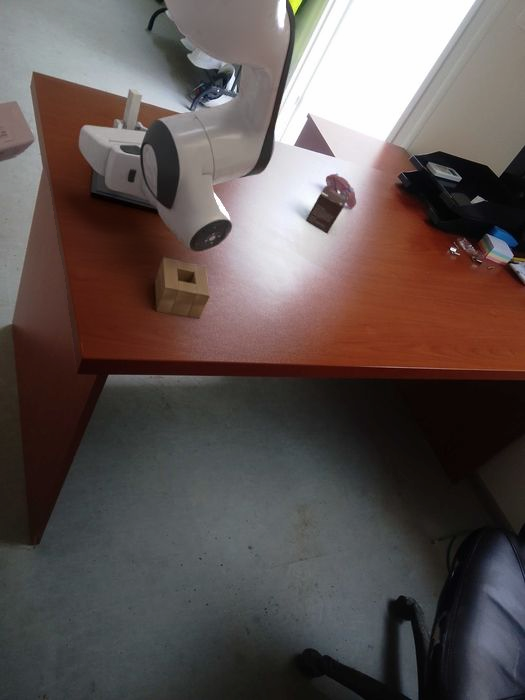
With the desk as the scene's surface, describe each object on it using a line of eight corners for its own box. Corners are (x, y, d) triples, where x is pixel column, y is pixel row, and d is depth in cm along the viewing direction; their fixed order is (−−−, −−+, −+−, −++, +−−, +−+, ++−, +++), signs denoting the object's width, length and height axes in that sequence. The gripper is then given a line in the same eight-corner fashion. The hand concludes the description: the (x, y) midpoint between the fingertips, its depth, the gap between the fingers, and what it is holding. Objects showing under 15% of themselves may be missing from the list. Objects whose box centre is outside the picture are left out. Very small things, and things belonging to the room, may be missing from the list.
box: (332, 224, 111) (348, 198, 106) (327, 233, 107) (343, 207, 102) (311, 211, 111) (326, 185, 106) (305, 220, 106) (320, 193, 102)
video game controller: (320, 192, 124) (324, 171, 118) (332, 185, 126) (337, 164, 120) (343, 215, 121) (349, 195, 115) (356, 207, 122) (362, 188, 116)
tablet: (169, 217, 85) (171, 212, 84) (90, 196, 79) (91, 191, 78) (164, 162, 97) (166, 157, 96) (95, 141, 91) (96, 136, 90)
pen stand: (156, 311, 67) (165, 287, 64) (155, 281, 72) (163, 256, 68) (199, 318, 70) (210, 295, 67) (195, 289, 74) (205, 266, 71)
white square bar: (115, 176, 82) (133, 93, 72) (112, 171, 83) (129, 88, 73) (124, 177, 83) (142, 95, 73) (120, 172, 84) (138, 89, 74)
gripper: (221, 159, 77) (183, 114, 82) (105, 149, 64) (68, 97, 69) (209, 191, 81) (173, 146, 86) (98, 189, 68) (63, 136, 73)
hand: (125, 124), depth 78 cm, fingers closed on white square bar, 1 cm apart
